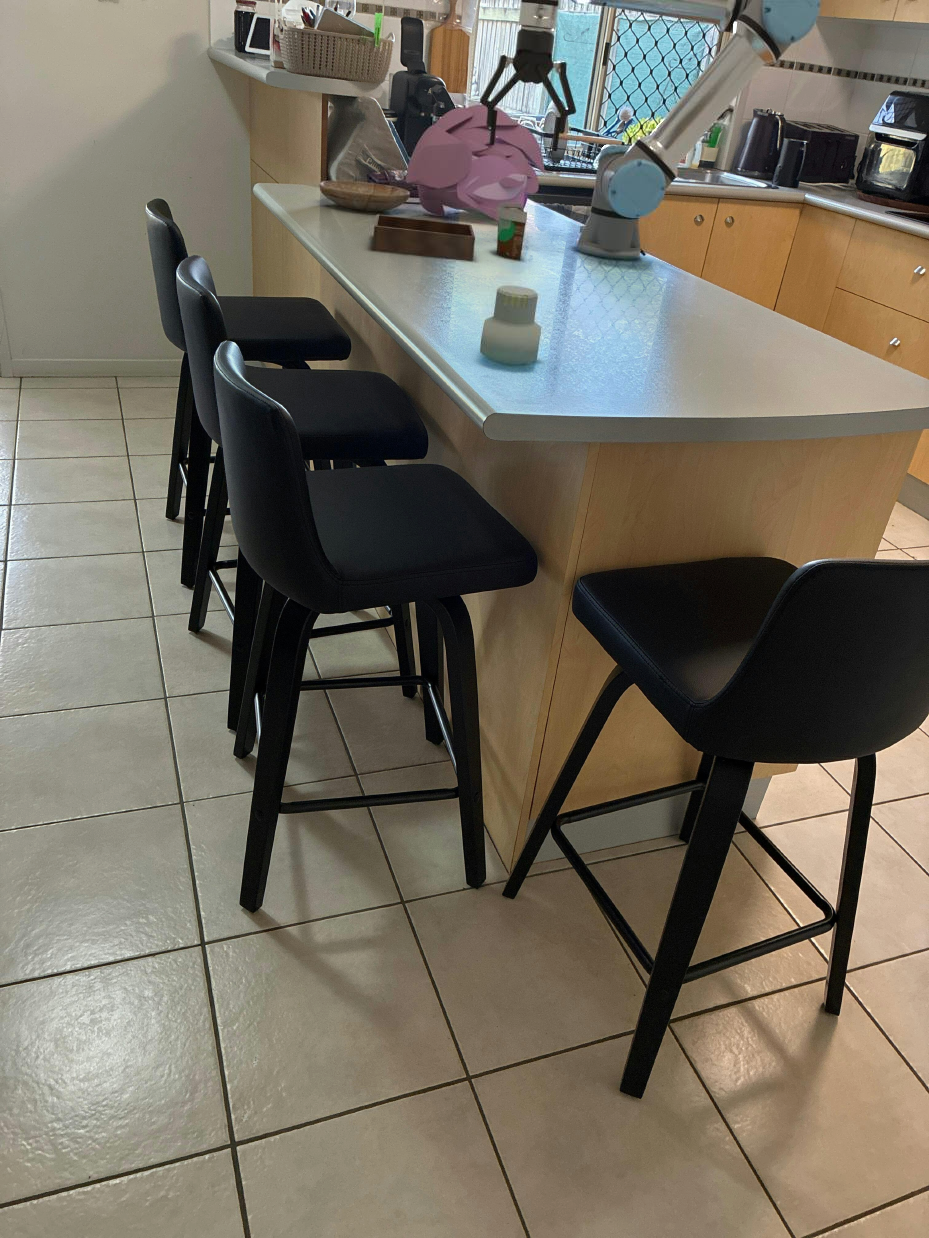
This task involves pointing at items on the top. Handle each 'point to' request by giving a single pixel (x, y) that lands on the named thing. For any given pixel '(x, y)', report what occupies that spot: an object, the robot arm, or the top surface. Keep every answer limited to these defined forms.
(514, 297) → the air freshener
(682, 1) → the robot arm
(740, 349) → the top surface
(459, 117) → the flower arrangement
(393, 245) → the wooden tray
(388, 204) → the wooden bowl
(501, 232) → the food container
